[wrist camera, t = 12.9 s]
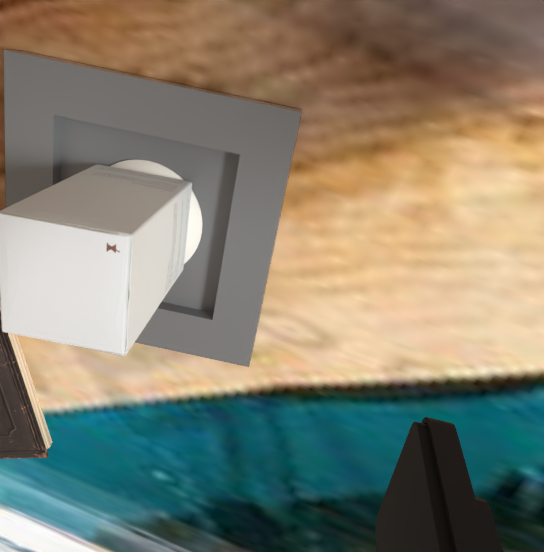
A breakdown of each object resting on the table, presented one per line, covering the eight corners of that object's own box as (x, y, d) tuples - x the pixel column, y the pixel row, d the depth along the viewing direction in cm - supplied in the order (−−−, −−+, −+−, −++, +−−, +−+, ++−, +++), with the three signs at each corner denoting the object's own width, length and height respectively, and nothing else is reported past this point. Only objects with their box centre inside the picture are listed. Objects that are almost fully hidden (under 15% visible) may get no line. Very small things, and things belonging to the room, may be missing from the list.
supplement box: (94, 161, 37) (-9, 206, 26) (195, 180, 37) (136, 235, 26) (91, 255, 40) (-4, 333, 29) (184, 273, 40) (127, 360, 29)
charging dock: (302, 109, 36) (301, 112, 34) (252, 354, 44) (248, 366, 42) (20, 50, 36) (3, 49, 34) (20, 303, 44) (7, 314, 42)
